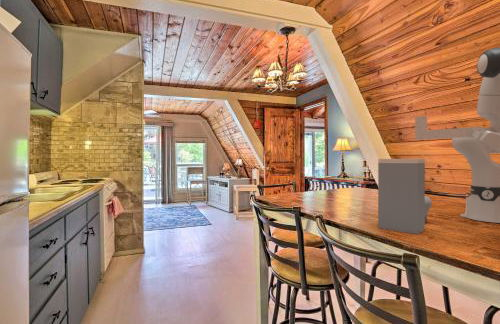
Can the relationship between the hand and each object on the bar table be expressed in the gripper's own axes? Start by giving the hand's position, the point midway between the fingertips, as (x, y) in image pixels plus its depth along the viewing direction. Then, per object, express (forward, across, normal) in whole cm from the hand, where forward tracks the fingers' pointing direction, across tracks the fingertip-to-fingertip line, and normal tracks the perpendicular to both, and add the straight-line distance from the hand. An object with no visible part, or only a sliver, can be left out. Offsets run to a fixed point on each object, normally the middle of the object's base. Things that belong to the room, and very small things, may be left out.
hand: (468, 131), depth 88 cm
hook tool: (+4, 0, +5) cm, 6 cm away
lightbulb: (-4, -17, +38) cm, 42 cm away
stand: (0, 0, +40) cm, 40 cm away
